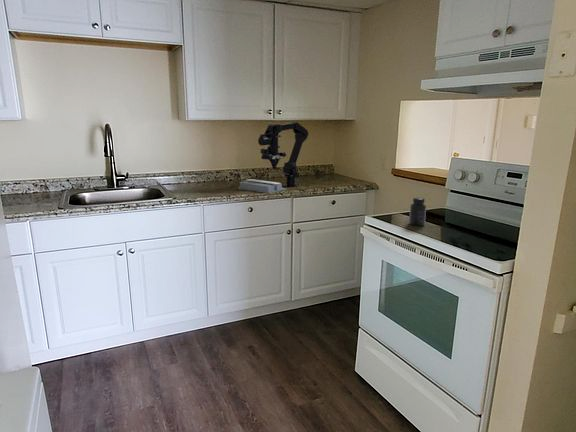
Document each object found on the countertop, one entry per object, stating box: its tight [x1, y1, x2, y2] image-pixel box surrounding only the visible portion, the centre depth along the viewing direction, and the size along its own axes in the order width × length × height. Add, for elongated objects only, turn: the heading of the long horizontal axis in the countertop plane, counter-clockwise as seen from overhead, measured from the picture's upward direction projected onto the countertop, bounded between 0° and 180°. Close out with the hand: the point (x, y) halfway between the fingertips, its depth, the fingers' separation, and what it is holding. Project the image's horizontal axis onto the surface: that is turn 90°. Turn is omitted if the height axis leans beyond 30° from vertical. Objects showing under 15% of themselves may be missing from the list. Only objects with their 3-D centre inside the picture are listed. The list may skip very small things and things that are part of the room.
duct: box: [237, 180, 287, 194], centre depth 273 cm, size 17×26×4 cm, turn 53°
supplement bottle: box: [408, 196, 427, 227], centre depth 189 cm, size 7×7×12 cm
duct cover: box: [245, 178, 282, 184], centre depth 273 cm, size 6×24×1 cm, turn 53°
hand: (274, 169), depth 272 cm, fingers closed
